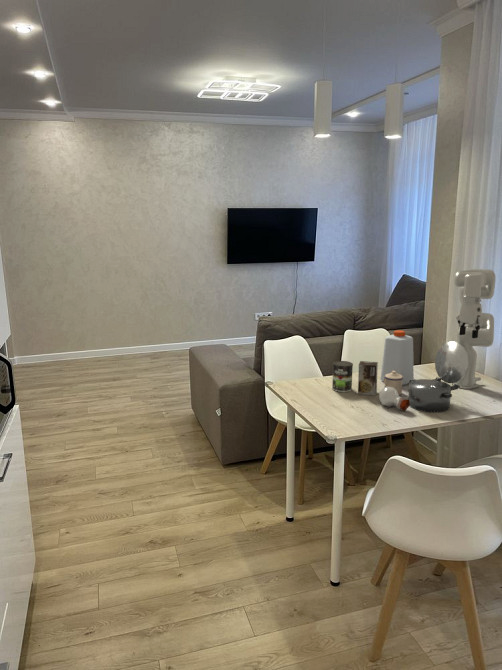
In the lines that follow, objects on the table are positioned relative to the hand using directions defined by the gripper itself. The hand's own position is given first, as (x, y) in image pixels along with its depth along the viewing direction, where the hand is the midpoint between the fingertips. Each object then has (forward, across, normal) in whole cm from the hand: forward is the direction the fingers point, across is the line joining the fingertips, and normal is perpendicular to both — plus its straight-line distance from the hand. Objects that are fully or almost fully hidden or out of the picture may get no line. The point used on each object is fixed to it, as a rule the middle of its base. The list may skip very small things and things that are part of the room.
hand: (468, 336), depth 254 cm
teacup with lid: (+32, +23, +26) cm, 47 cm away
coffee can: (+32, +38, +46) cm, 68 cm away
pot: (+32, 0, +22) cm, 39 cm away
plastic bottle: (+32, +37, +11) cm, 50 cm away
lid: (+12, 0, +10) cm, 16 cm away
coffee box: (+32, +27, +38) cm, 56 cm away
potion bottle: (+32, +5, +39) cm, 51 cm away
